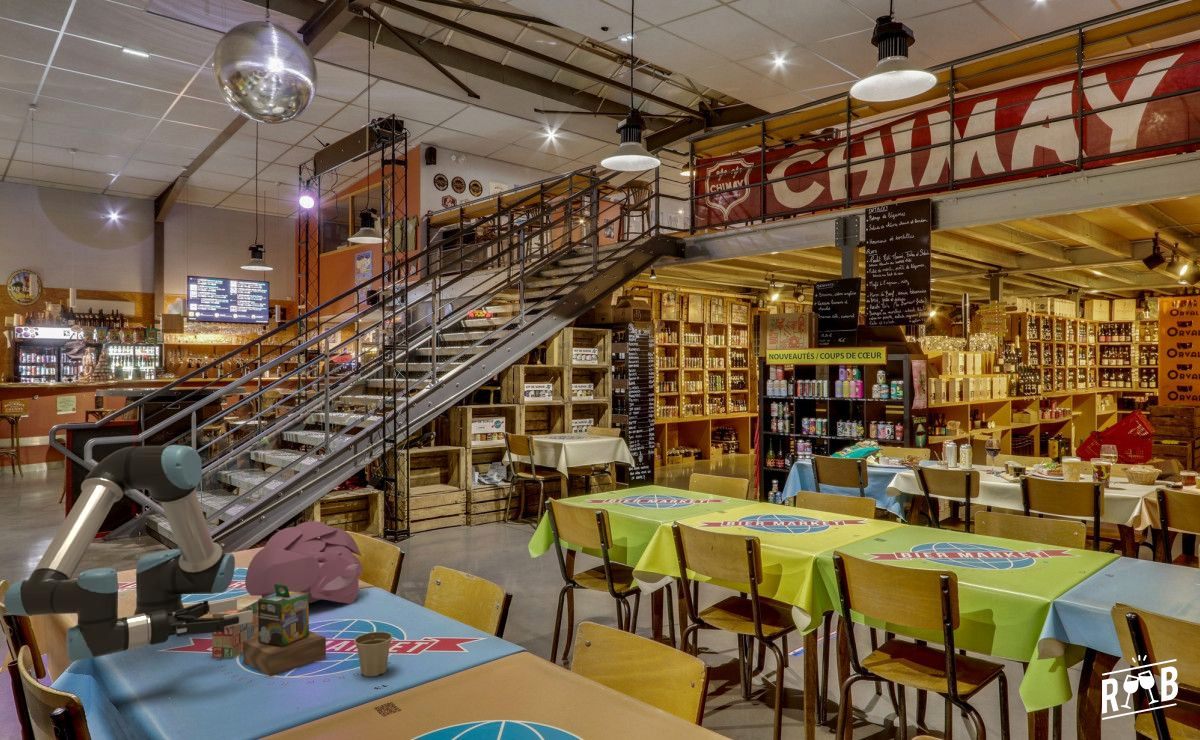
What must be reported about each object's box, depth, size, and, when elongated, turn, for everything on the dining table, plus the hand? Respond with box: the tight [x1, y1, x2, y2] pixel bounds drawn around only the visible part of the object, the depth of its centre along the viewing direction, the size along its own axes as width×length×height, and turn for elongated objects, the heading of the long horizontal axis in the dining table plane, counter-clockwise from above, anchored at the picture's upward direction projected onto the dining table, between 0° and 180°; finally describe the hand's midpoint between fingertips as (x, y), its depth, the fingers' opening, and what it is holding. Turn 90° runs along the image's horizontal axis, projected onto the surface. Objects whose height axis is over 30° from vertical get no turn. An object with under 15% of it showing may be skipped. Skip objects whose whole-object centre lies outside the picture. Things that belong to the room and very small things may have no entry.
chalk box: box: [257, 584, 310, 647], centre depth 189 cm, size 9×9×15 cm
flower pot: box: [353, 631, 394, 677], centre depth 181 cm, size 9×9×9 cm
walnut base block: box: [242, 630, 327, 677], centre depth 189 cm, size 15×15×6 cm
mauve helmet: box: [244, 520, 364, 605], centre depth 239 cm, size 36×24×29 cm
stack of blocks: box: [211, 598, 259, 659], centre depth 202 cm, size 21×6×12 cm, turn 173°
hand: (244, 609), depth 183 cm, fingers open, 13 cm apart
